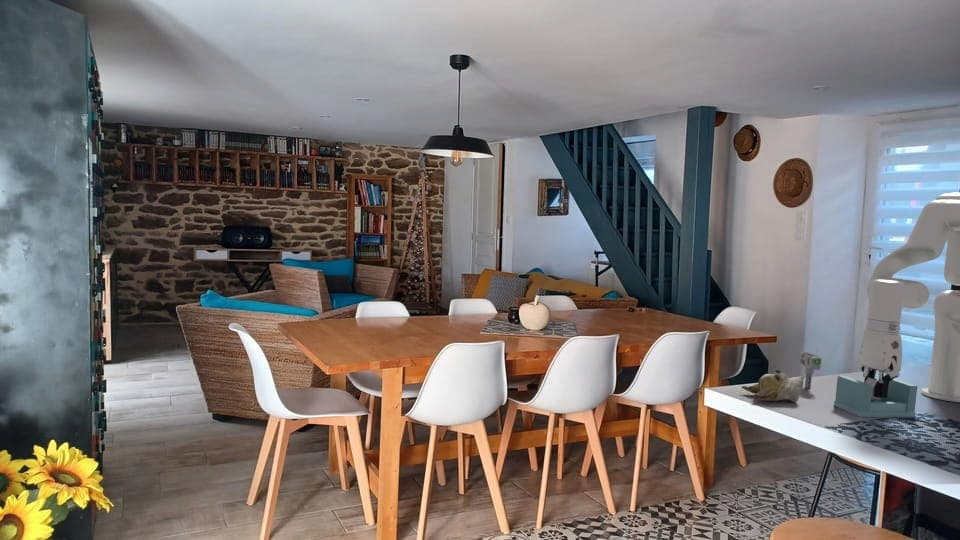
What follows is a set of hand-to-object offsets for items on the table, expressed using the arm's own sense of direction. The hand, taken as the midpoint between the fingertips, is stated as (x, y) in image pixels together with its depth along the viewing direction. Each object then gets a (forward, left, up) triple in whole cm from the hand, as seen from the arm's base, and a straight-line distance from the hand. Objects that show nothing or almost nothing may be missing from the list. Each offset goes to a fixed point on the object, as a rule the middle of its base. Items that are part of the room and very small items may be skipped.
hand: (874, 394), depth 178 cm
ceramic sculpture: (+22, -10, -5) cm, 25 cm away
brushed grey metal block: (+3, 0, -2) cm, 3 cm away
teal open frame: (0, 0, -4) cm, 4 cm away
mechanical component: (+3, -23, -5) cm, 24 cm away
